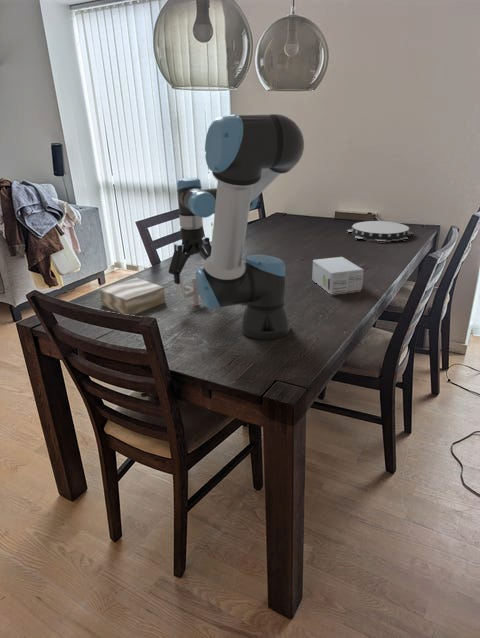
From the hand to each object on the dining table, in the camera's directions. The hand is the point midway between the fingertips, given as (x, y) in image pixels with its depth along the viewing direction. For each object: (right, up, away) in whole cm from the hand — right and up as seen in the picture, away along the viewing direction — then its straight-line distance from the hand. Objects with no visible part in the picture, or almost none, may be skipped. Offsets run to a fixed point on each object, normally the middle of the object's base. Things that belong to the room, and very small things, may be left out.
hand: (194, 286), depth 165 cm
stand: (-22, -6, +4) cm, 24 cm away
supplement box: (+53, +1, +16) cm, 55 cm away
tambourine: (+91, +33, +87) cm, 130 cm away
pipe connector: (0, -6, +2) cm, 7 cm away
